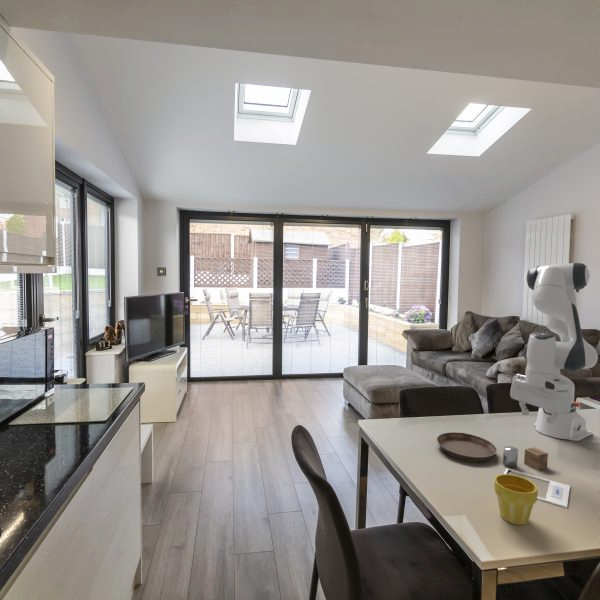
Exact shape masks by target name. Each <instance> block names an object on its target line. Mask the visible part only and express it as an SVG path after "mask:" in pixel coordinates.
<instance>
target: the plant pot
mask: <svg viewBox="0 0 600 600" xmlns="http://www.w3.org/2000/svg"><path fill="white" fill-rule="evenodd" d="M493 488H494V489H493V490H494V493H495V494H496V496H497V502H498V506H499V507H498V508H499V513H500V516H501V518H502V519H503V520H505V521H507V522H508V523H510V524H514V525H520V526H522V525H527V524H528V523H529V520H530V516H531V514H532V510H533V507H534V505H535V504H536V503H537V501H538V499H537V497H538V494H539V493H538V486H537V484H535V483H534V482H533V481H531V480H530V479H528V478H525V477H523V476H520V475H515V474H510V473H506V474H504V473H501V474H498V475H496V476H495V478H494V486H493Z"/></svg>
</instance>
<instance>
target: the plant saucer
mask: <svg viewBox="0 0 600 600" xmlns="http://www.w3.org/2000/svg"><path fill="white" fill-rule="evenodd" d="M436 441H437V442H436V443H437V444H438V445H439V447H440V448H441V450H442V451H444V452H445V453H446V454H447V455H448V456H451V457H453V458H456V459H458V460H462V461H465V462H466V461H467V462H475V463H476V462H477V463H479V462H484V461H485V462H486V461H487V460H488V461H489V460H490V459H491V458H493V457H494V456H495V455H496V453H497V452H498V451H497V450H498V448H497V447H496V445H494V443H492V442H491V441H489V440H487V439H485V438H484V437H480V436H478V435H475V434H474V435H473V434H470V433H464V432H455V431H454V432H453V431H452V432H446V433H441V434H439V435H438V436H437V437H436Z"/></svg>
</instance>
